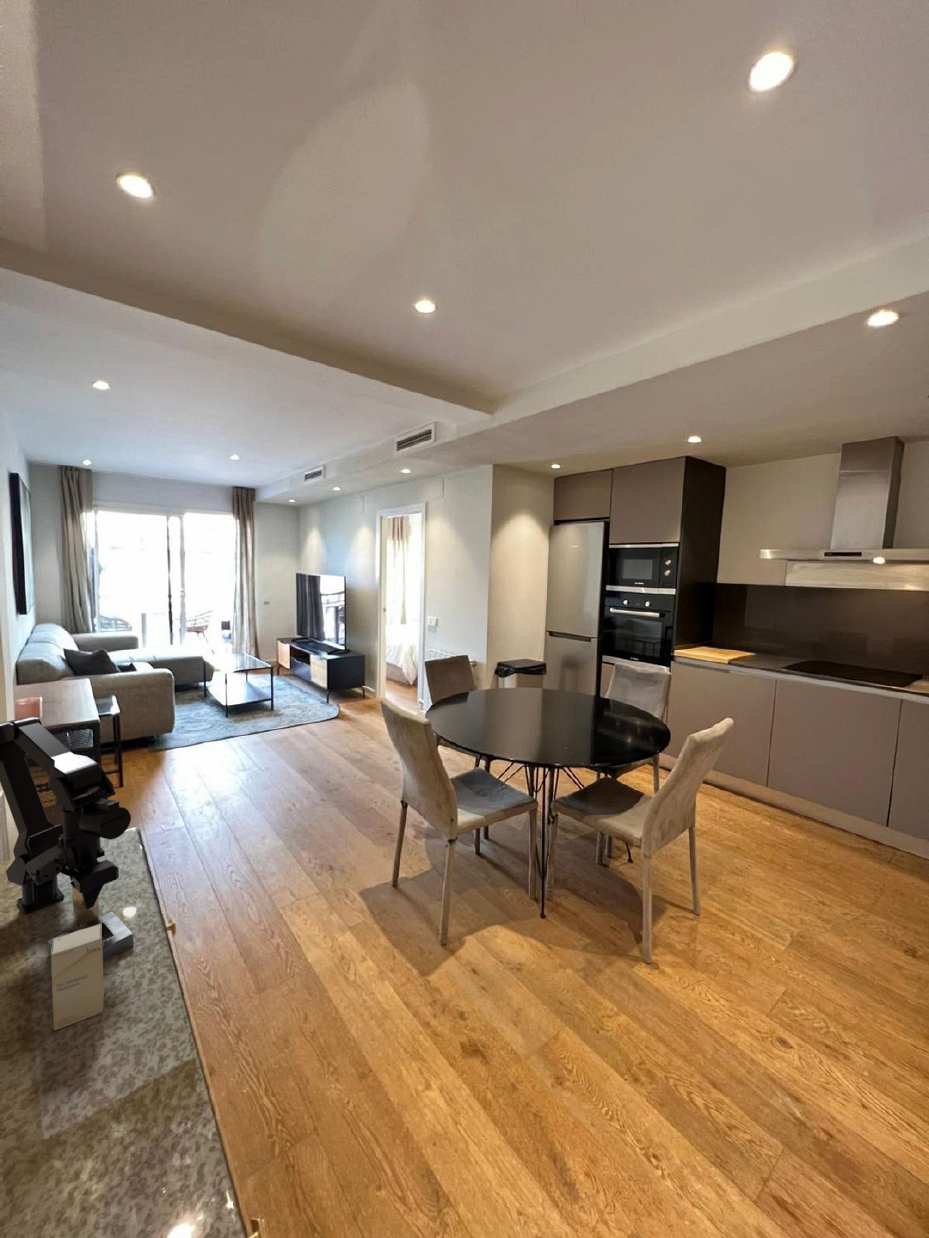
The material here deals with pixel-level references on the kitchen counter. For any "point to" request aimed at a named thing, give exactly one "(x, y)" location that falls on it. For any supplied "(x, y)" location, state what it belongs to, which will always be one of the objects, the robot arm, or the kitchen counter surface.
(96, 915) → the bushing
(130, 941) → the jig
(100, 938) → the skincare box
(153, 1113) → the kitchen counter surface
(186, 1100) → the kitchen counter surface
